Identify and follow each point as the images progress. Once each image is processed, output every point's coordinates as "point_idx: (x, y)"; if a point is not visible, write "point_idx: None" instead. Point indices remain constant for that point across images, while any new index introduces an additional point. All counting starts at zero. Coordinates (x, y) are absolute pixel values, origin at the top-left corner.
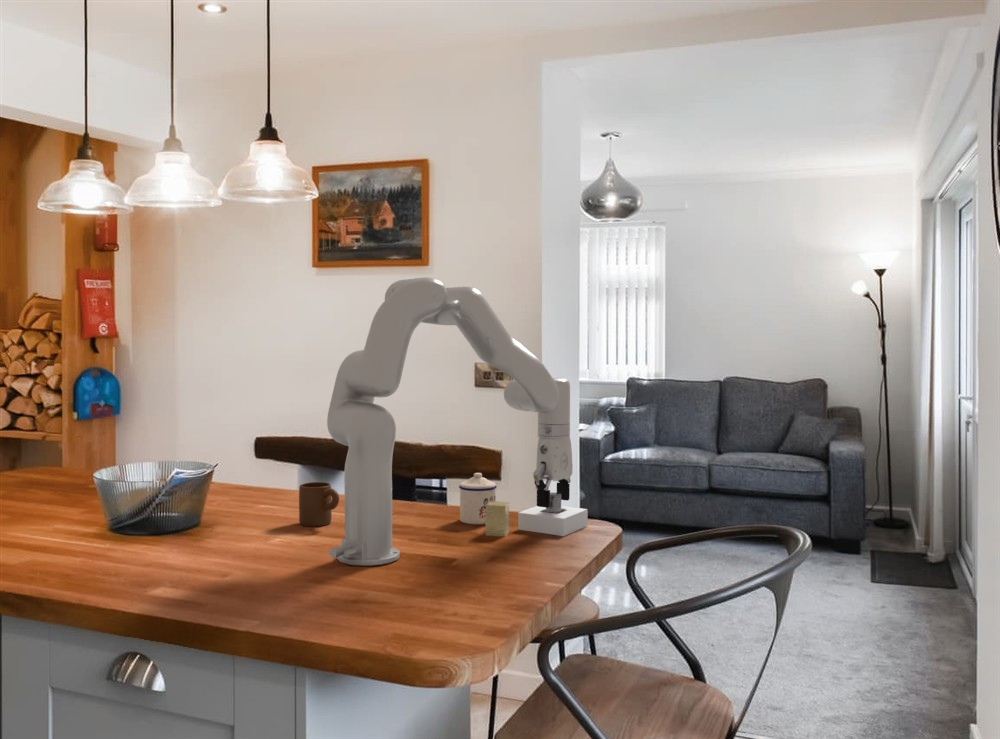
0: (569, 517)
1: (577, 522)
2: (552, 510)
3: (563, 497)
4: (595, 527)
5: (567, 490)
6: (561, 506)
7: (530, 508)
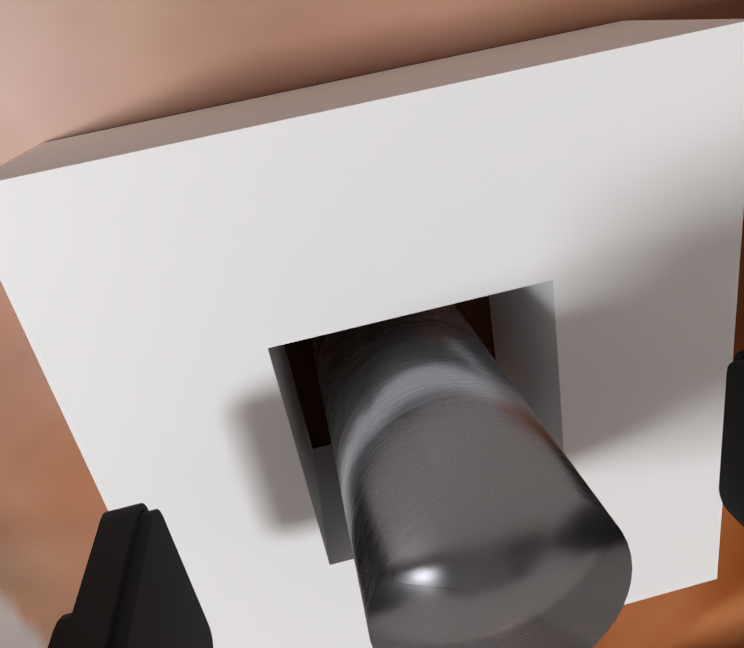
0: (589, 52)
1: (315, 96)
2: (521, 395)
3: (176, 583)
4: (8, 13)
5: (128, 640)
6: None
7: None
